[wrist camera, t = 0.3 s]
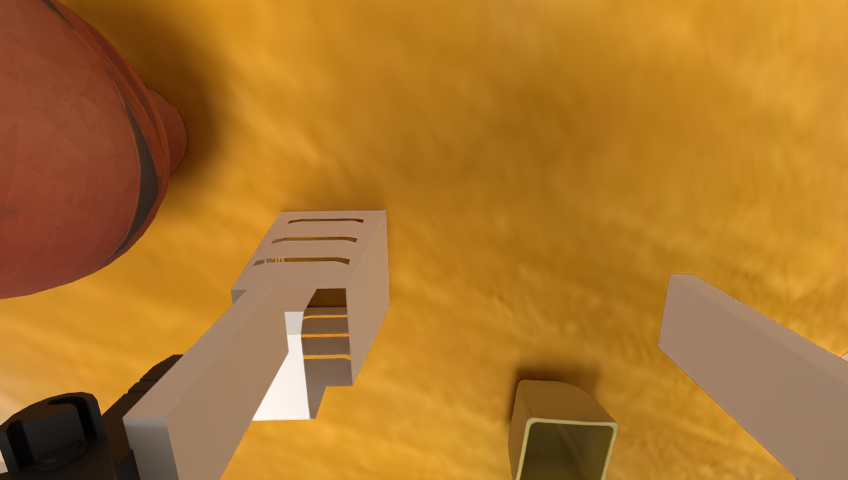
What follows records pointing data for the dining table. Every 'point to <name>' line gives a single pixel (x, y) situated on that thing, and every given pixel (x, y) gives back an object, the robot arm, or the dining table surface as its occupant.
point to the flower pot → (559, 433)
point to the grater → (366, 307)
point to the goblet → (74, 149)
